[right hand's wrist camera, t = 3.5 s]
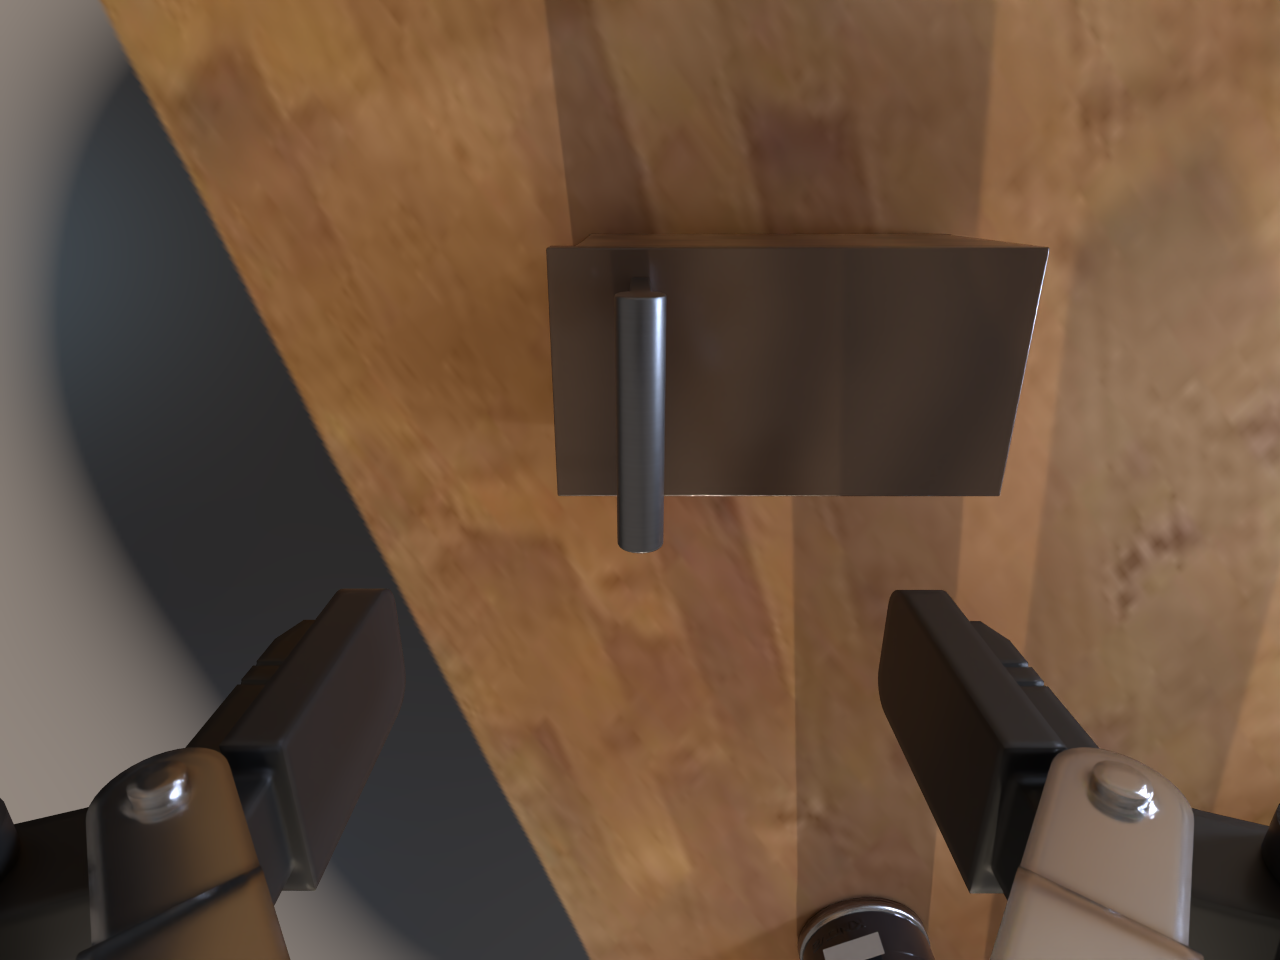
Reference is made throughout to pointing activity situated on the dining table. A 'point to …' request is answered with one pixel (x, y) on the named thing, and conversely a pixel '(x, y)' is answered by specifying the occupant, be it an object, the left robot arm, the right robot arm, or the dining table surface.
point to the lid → (785, 371)
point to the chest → (787, 240)
